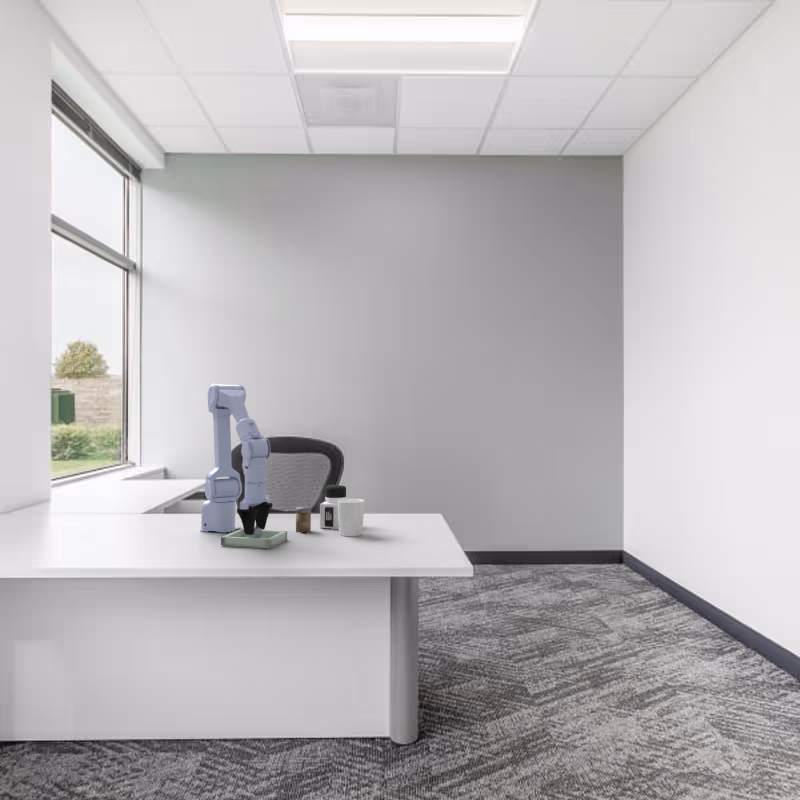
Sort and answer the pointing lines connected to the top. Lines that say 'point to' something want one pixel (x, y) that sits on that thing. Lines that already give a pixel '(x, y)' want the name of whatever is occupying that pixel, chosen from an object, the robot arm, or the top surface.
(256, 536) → the ball
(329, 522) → the container
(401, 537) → the top surface
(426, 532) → the top surface
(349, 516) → the white cup
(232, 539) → the tray
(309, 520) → the cylinder
